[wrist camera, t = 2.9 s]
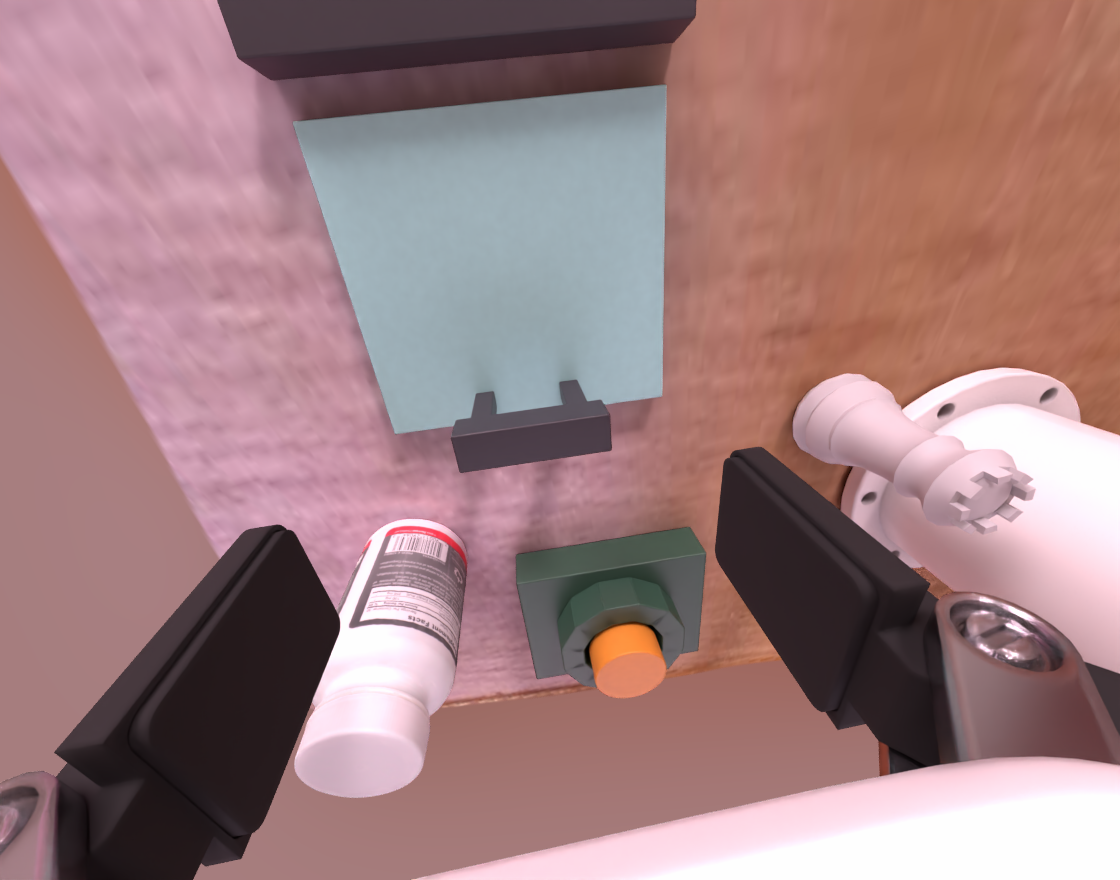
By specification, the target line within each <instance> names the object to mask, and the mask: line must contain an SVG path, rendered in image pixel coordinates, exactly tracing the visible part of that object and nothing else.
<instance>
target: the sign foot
mask: <svg viewBox="0 0 1120 880" xmlns="http://www.w3.org/2000/svg"><path fill="white" fill-rule="evenodd" d="M217 1H218V4H219V7H220V10H221V12H222V15H223V18H224V21H225V23H226V26H227V29H228V32H229V35H230V37H231V40H232V43H233V46H234V49H235V51H236V54H237V57H238V58H239V59H240V60H241V61H243V62H244V63H246V64H247V65H249V66H250V67H252V68H253V69H255V70H256V71H258V72H259V73H261V74H263V75H264V76H266V77H267V78H269V79H270V80H283V79H294V78H304V77H315V76H326V75H336V74H347V73H357V72H368V71H379V70H389V69H400V68H411V67H421V66H432V65H442V64H453V63H464V62H474V61H485V60H496V59H506V58H517V57H527V56H538V55H549V54H559V53H570V52H581V51H591V50H602V49H612V48H623V47H634V46H644V45H655V44H666V43H673V42H675V40H676V39H677V38H678V37H679V36H680V35H681V33H682V32H683V31H684V30H685V29H686V28H687V26H688V25H689V24H690V23H691V22H692V21H693V19H694V18H695V16H696V0H217Z"/></svg>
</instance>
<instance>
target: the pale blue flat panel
mask: <svg viewBox="0 0 1120 880" xmlns="http://www.w3.org/2000/svg"><path fill="white" fill-rule="evenodd" d="M666 87H667V86H666V85H665V84H662V85H652V86H642V87H632V88H622V89H612V90H602V91H592V92H582V93H572V94H562V95H552V96H542V97H532V98H522V99H512V100H502V101H492V102H482V103H472V104H462V105H452V106H442V107H432V108H422V109H412V110H401V111H391V112H381V113H371V114H361V115H351V116H341V117H331V118H321V119H311V120H301V121H293V126H294V129H295V132H296V135H297V138H298V141H299V144H300V147H301V150H302V153H303V156H304V159H305V162H306V165H307V168H308V171H309V175H310V178H311V181H312V184H313V187H314V190H315V193H316V196H317V199H318V202H319V205H320V208H321V211H322V214H323V217H324V220H325V223H326V226H327V229H328V232H329V235H330V238H331V241H332V244H333V247H334V251H335V254H336V257H337V260H338V263H339V266H340V269H341V272H342V275H343V278H344V281H345V284H346V287H347V290H348V293H349V296H350V299H351V302H352V305H353V308H354V311H355V314H356V317H357V320H358V324H359V327H360V330H361V333H362V336H363V339H364V342H365V345H366V348H367V351H368V354H369V357H370V360H371V363H372V366H373V369H374V372H375V375H376V378H377V381H378V384H379V387H380V390H381V393H382V396H383V400H384V403H385V406H386V409H387V412H388V415H389V418H390V421H391V424H392V427H393V430H394V433H395V434H402V433H409V432H416V431H423V430H430V429H437V428H444V427H451V426H454V428H453V432H452V435H451V441H452V444H453V448H454V452H455V456H456V460H457V464H458V468H459V471H460V473H464V472H471V471H478V470H484V469H491V468H498V467H505V466H511V465H518V464H525V463H531V462H538V461H545V460H552V459H558V458H565V457H572V456H579V455H585V454H592V453H599V452H606V451H611V449H612V444H611V424H610V414H609V412H608V411H607V409H606V407H605V405H606V404H613V403H620V402H627V401H634V400H641V399H648V398H655V397H662V377H663V305H664V232H665V159H666Z"/></svg>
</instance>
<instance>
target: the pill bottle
mask: <svg viewBox="0 0 1120 880" xmlns="http://www.w3.org/2000/svg"><path fill="white" fill-rule="evenodd" d="M467 564H468V556H467V552H466V549H465V547H464V543H463V542H462V540H461V539H460V538H459V537H458V536H457V535H456V534H455V533H454V532H452V531H451V530H450V529H449V528H447V527H445V526H443V525H441V524H439V523H436V522H433V521H428V520H424V519H405V520H398V521H395V522H392V523H390V524H387V525H385V526H384V527H382V528H380V529H379V530H378V531H376V532H375V533H374V534H373V535H372V536H371V537H370V539H369V540H368V542H367V543H366V545H365V547H364V550H363V552H362V554H361V556H360V558H359V560H358V563H357V565H356V567H355V570H354V572H353V574H352V576H351V579H350V581H349V583H348V585H347V588H346V590H345V592H344V594H343V596H342V598H341V601H340V603H339V605H338V607H337V609H336V611H337V613H338V615H339V618H340V632H339V636H338V638H337V641H336V643H335V646H334V648H333V651H332V653H331V656H330V658H329V661H328V663H327V666H326V668H325V671H324V673H323V676H322V678H321V681H320V683H319V686H318V688H317V691H316V693H315V696H314V698H313V701H312V702H313V704H314V706H315V707H316V708H315V710H314V712H313V714H312V716H311V717H310V718H309V720H308V722H307V725H306V728H305V733H304V735H303V738H302V741H301V743H300V746H299V749H298V752H297V754H296V758H295V771H296V774H297V775H298V777H299V778H300V779H301V780H302V782H303V783H305V784H306V785H308V786H310V787H311V788H312V789H315V790H317V791H320V792H323V793H327V794H330V795H336V796H340V797H352V798H357V797H358V798H360V797H371V796H377V795H382V794H386V793H389V792H392V791H395V790H397V789H400V788H402V787H404V786H406V785H407V784H409V783H410V782H411V781H413V780H414V779H415V778H416V777H417V776H418V774H419V773H420V771H421V770H422V767H423V764H424V759H425V754H426V749H427V743H428V738H429V734H430V724H429V723H430V716H431V715H432V714H433V713H434V712H436V711H437V710H438V709H439V708H440V707H441V705H442V704H443V703H444V702H445V700H446V699H447V697H448V696H449V694H450V692H451V689H452V686H453V683H454V678H455V672H456V666H457V656H458V647H459V638H460V628H461V620H462V611H463V602H464V593H465V586H466V576H467Z"/></svg>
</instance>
